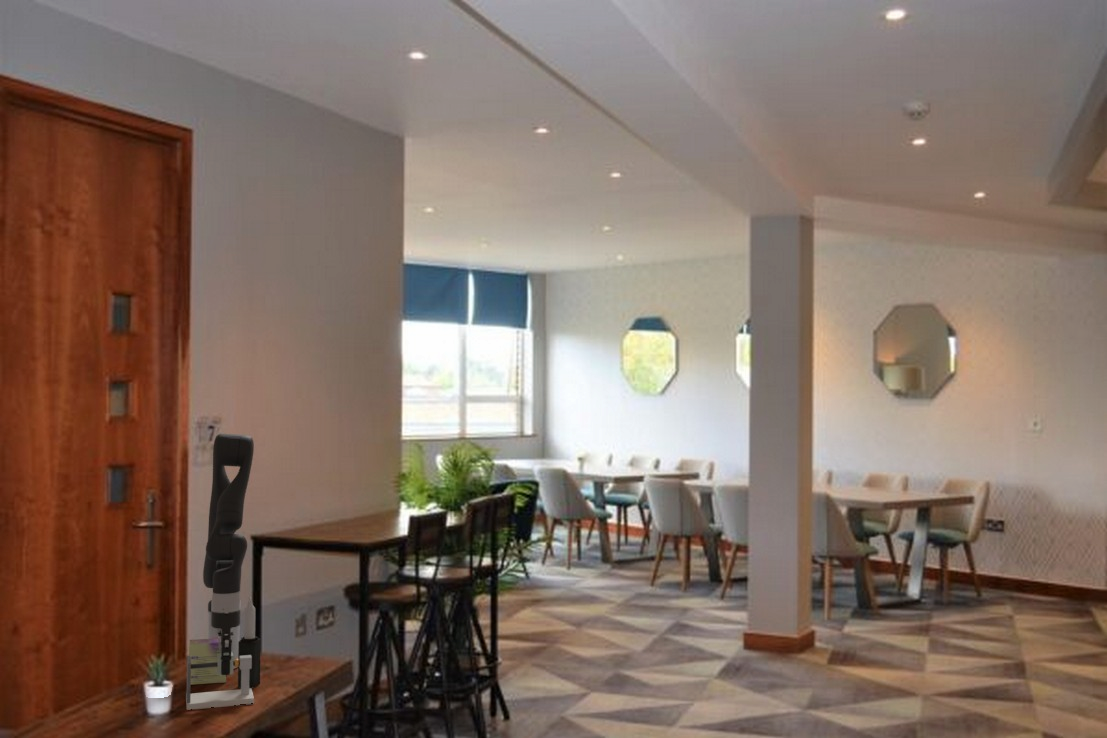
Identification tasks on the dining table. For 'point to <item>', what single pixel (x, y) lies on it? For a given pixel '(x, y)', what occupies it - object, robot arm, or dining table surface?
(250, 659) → the cord rack
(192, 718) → the dining table surface
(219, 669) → the sleeve
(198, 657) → the box
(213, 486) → the robot arm
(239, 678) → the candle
